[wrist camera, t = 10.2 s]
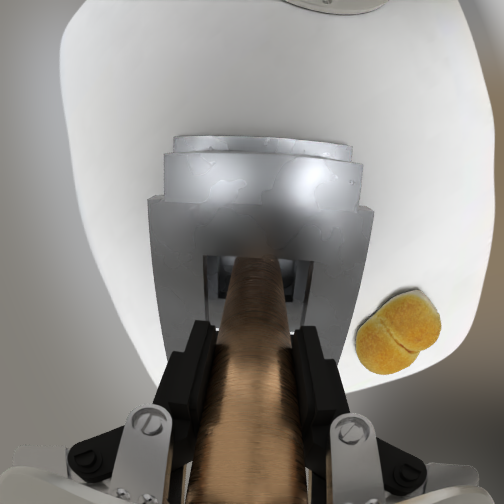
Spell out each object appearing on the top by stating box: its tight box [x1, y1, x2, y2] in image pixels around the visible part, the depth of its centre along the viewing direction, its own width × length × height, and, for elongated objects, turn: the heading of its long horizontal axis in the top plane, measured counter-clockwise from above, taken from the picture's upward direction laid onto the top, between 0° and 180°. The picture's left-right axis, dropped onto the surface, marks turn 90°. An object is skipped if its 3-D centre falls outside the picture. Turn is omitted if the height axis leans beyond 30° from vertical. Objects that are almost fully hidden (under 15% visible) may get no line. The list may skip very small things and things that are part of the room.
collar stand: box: [147, 136, 374, 365], centre depth 16 cm, size 14×12×8 cm
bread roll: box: [356, 290, 441, 375], centre depth 22 cm, size 8×9×4 cm
